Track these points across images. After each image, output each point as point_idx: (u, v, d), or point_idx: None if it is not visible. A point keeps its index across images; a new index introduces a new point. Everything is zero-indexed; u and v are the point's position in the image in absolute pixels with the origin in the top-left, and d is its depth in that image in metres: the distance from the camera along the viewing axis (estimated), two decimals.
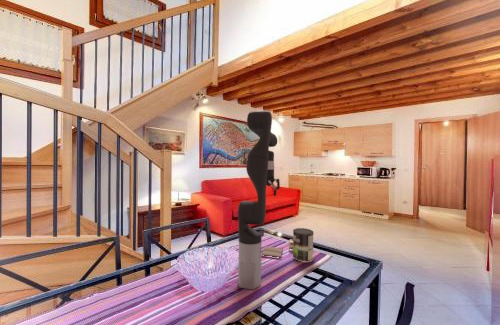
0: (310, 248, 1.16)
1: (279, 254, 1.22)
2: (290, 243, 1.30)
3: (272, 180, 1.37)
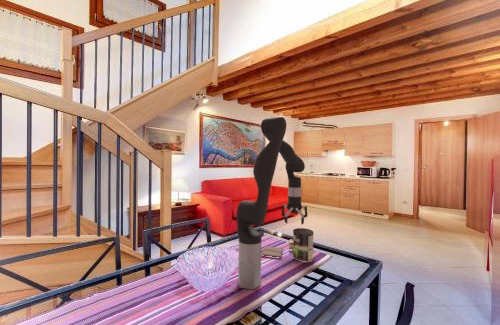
0: (310, 248, 1.16)
1: (279, 254, 1.22)
2: (290, 243, 1.30)
3: (299, 207, 1.30)
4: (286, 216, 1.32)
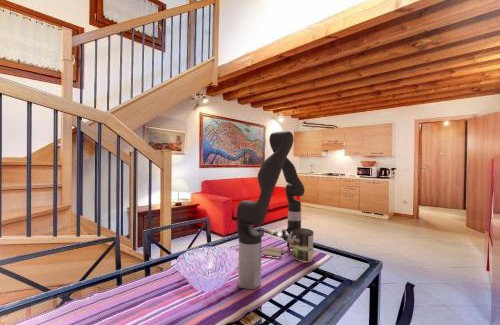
0: (310, 248, 1.16)
1: (279, 254, 1.22)
2: (290, 243, 1.30)
3: None
4: (288, 241, 1.32)
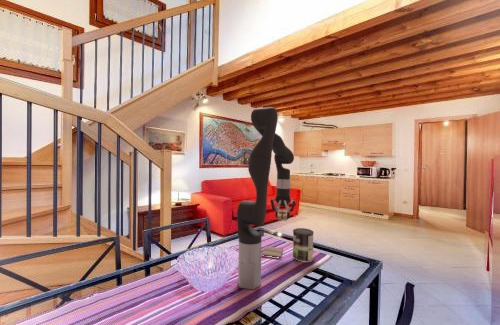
0: (310, 248, 1.16)
1: (279, 254, 1.22)
2: (278, 212, 1.26)
3: (288, 200, 1.26)
4: (277, 211, 1.27)
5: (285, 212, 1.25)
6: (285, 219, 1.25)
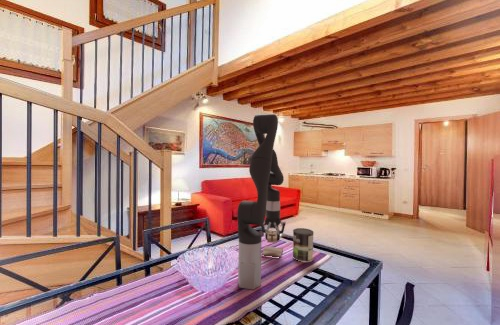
0: (310, 248, 1.16)
1: (279, 254, 1.22)
2: (268, 234, 1.24)
3: (278, 222, 1.24)
4: None
5: (275, 234, 1.23)
6: (275, 241, 1.23)
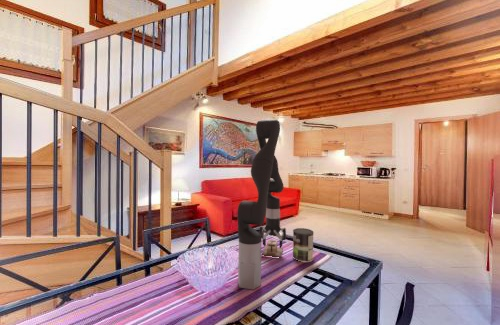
0: (310, 248, 1.16)
1: (279, 254, 1.22)
2: (268, 244, 1.24)
3: (278, 230, 1.24)
4: (264, 238, 1.26)
5: (274, 245, 1.23)
6: (274, 252, 1.23)
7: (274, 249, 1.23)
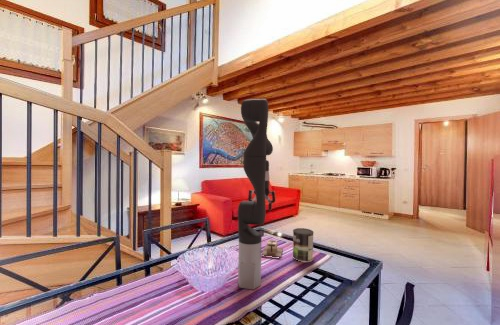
0: (310, 248, 1.16)
1: (279, 254, 1.22)
2: (268, 244, 1.24)
3: (267, 192, 1.23)
4: None
5: (274, 245, 1.23)
6: (274, 252, 1.23)
7: (274, 249, 1.23)
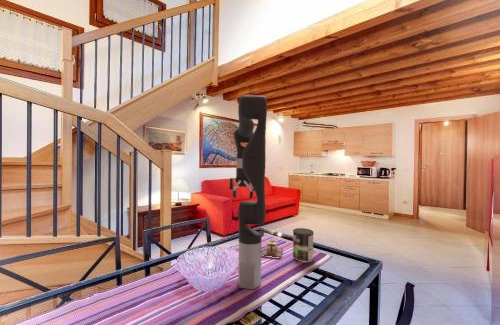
0: (310, 248, 1.16)
1: (279, 254, 1.22)
2: (268, 244, 1.24)
3: (248, 180, 1.21)
4: (234, 190, 1.22)
5: (274, 245, 1.23)
6: (274, 252, 1.23)
7: (274, 249, 1.23)
